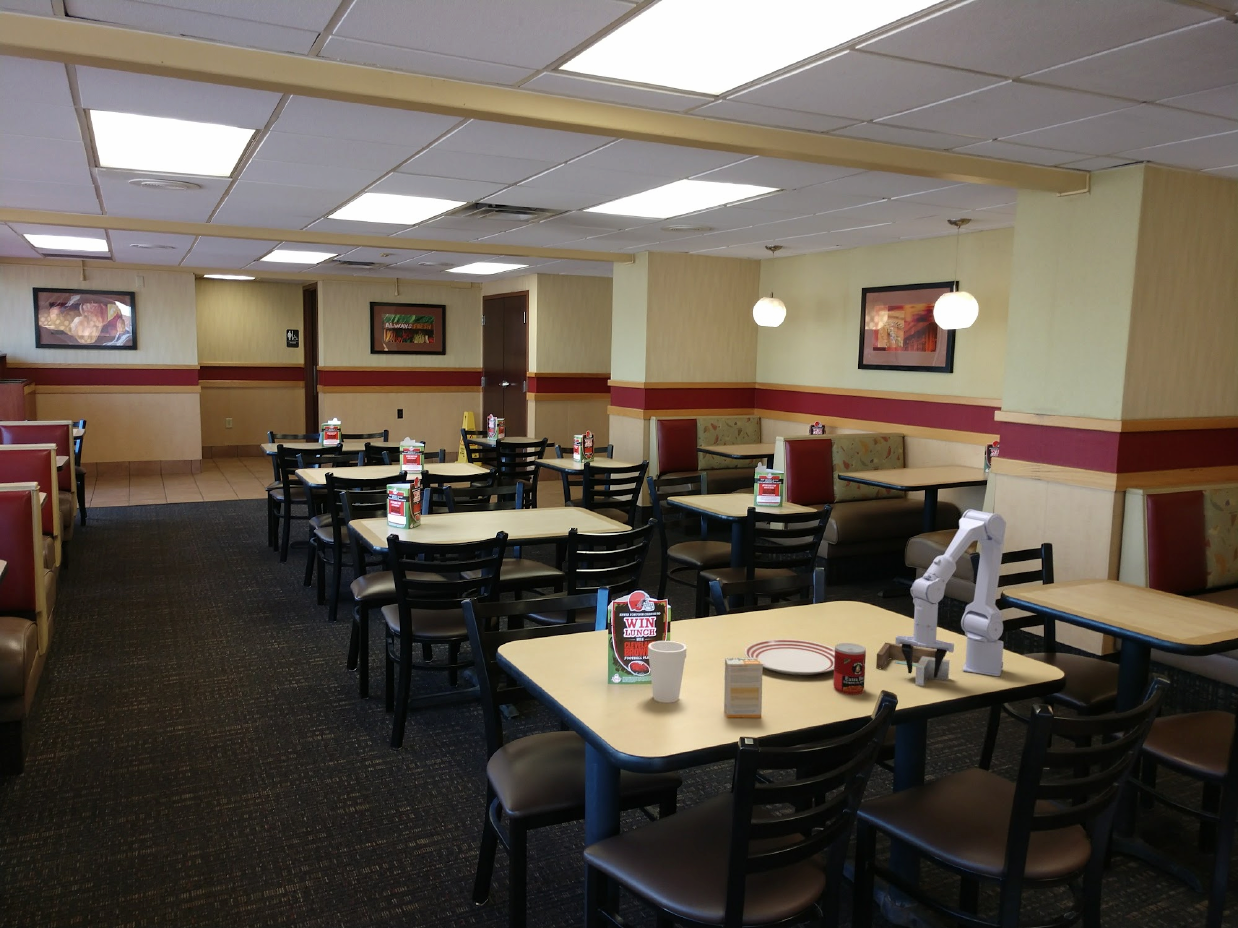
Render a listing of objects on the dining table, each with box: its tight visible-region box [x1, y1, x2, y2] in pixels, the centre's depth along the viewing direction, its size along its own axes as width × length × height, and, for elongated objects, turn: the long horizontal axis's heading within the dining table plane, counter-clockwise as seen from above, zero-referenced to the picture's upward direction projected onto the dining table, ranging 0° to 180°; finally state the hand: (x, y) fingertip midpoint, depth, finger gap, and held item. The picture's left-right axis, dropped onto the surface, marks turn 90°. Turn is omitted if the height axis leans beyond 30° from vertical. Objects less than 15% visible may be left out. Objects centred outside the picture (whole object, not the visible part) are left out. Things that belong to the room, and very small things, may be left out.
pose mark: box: [894, 660, 918, 667], centre depth 246 cm, size 9×7×1 cm
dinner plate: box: [744, 638, 835, 676], centre depth 247 cm, size 28×27×3 cm
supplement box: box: [723, 657, 764, 719], centre depth 209 cm, size 8×5×13 cm, turn 92°
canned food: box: [833, 642, 867, 695], centre depth 227 cm, size 8×8×11 cm
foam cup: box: [647, 640, 688, 704], centre depth 219 cm, size 10×9×13 cm
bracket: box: [914, 656, 951, 687], centre depth 234 cm, size 10×7×5 cm
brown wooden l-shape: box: [875, 642, 936, 670], centre depth 247 cm, size 15×12×4 cm
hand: (922, 674), depth 236 cm, fingers open, 6 cm apart
